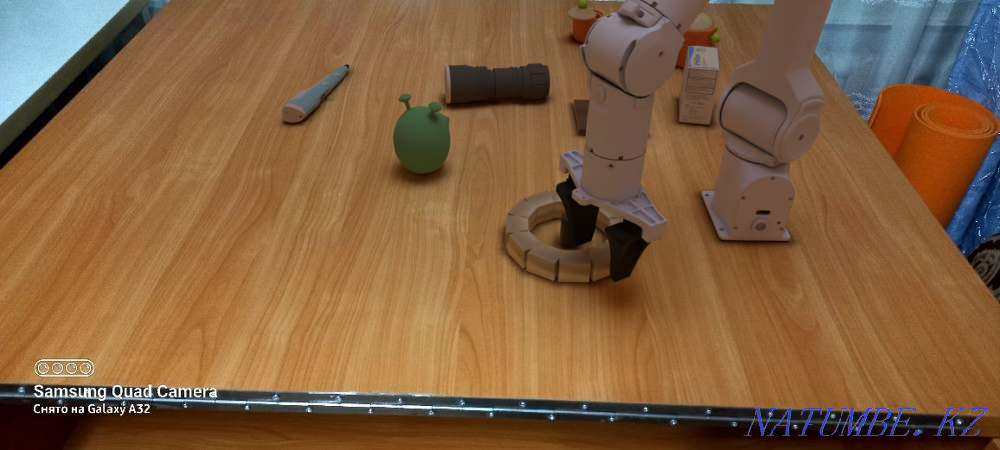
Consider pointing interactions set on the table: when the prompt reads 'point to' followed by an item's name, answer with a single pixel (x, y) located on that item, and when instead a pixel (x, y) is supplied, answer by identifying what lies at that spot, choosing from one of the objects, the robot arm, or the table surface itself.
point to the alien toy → (421, 137)
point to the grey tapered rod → (312, 96)
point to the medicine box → (699, 85)
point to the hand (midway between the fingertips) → (600, 259)
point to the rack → (581, 115)
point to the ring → (546, 257)
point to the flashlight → (495, 82)
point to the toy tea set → (694, 36)
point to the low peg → (565, 232)
